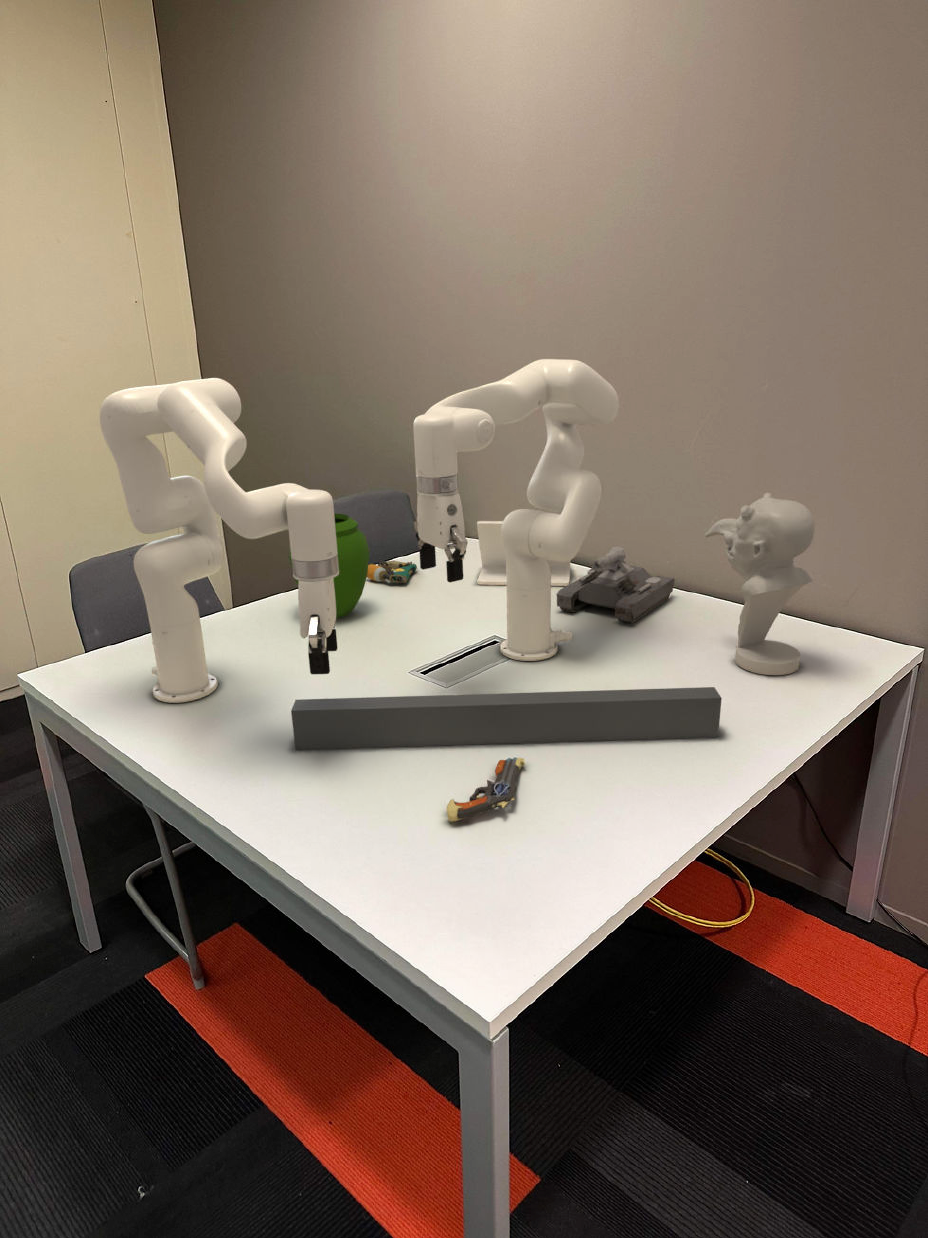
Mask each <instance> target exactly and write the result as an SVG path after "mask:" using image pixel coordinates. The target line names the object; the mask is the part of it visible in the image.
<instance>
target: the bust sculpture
mask: <svg viewBox="0 0 928 1238" xmlns="http://www.w3.org/2000/svg"><path fill="white" fill-rule="evenodd" d="M815 527H816V526H815V520H814V517H813V515H812V513H811V510H809V509H808V508H807V507H806V506H805V505H804V504H802V503H800V502H798V501H796V500H790V499H780V498H774V497H773V494H772V493H770V492H765V493H763V495H762V497H761V498H759V499H757V500H756V501H754V502H752V503H751V504H750V505H743V506H742V507H741V509H740V515H739V517H738V518H737V519H736V518H723V519H719V520H718V521H716V522H715V523H714V524H713V525H712V526H711V528H710V529H709V530H708V531H706V532H705V534H704V536H705V538H711V537H715V536H723V537H724V543H725V544H726V545H727V548H726V549H725V554H726V556H727V560H728V562H729V564H730V565H731V568H732V569H733V571H734V572H736V573H737V574H738V575H739V576H740V577H741V578H742V579H744V581H745V582H744V583H743V585H742V588H741V593H742V597H743V599H744V601H745V602H744V605H743V607H742V609H741V612H740V615H739V623H738V625H737V626H738V627H737V645H736V646H735V654H734V661H735V664H736V665H737V666H738V667H740V668H741V669H744V670H746V671H748V672H750V673H754V674H759V675H766V676H783V675H790V674H792V673H794V672H796V671H798V669H799V668H800V661H801V652H800V651H799V649H797V648H796V647H795V646H792V645H790V644H788V643H784V642H781V641H776V640H769V639H766V637H767V635H768V634H769V631H770V630H771V627H772V626H773V624H774V622H775V620H776V619H777V617H778V616H779V614H780V612H781V611H782V610H783V608H784V607H785V606H786V604H787V603H788V601H790V599H791V597H793V596H794V595H795V594H796V593H797V592H798V591H799V590H801V589H802V588H803V587H805V586H806V585H807V584H809V583H811V582H813V581H814V580H813V579H812V577H811V575H810V574H809V573H808V572H807V571H806V570H805V569H803V568H802V567H799V566H798V567H797V566H795V565H794V563H795V560H794V559H795V558H796V557H799V556H800V555H802V554H803V553H805V552H806V551H807V550H808V549H809V547H810V546H811V544H812V542H813V541H814V537H815V529H816V528H815Z"/></svg>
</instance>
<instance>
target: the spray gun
mask: <svg viewBox="0 0 928 1238" xmlns="http://www.w3.org/2000/svg"><path fill="white" fill-rule="evenodd" d="M417 569H418V566H417V564H416V563H413V561H410V562H409V561H407V562H403V561H398V560H386V561H385V560H382V561H381V560H379V561H378V562H377V564H373V563H370V564H368V573H367V578H366V579H369V580H371V581H375V582H378V583H379V582H381V583H382V582H384V581H389V582H390V583H402V584H405V583H407V582H408V580H409V579H410V577H411V575H412V573H415V572H416V571H417Z"/></svg>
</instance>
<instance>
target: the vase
mask: <svg viewBox="0 0 928 1238" xmlns="http://www.w3.org/2000/svg"><path fill="white" fill-rule="evenodd" d="M334 517H335V529H336V541H337V554H338V565H339V575H338V576H336V577H334V589H335V600H336V619H341V618H345V617H347V616H349V615H350V614H351V613H352V612H353V611H354V610H355V608H356V607H357V605H358V604H359V601H360V599H361V597H362V595H363V592H364V588H365V586H366V581H367V579H368V578H367V573H368V565H369V561H370V560H369V559H370V548H369V545H368V541H367V537H366V535H365V534H364V533H363V532H362V531H361V530H360V529H359V527H358V524H359V523H358V521H356V520H355V519H353V518H352V517H350V516H349V515H347V514H344V513H334ZM288 559H289V564H290V566H291V567H290V568H291V570H292V572H293V568H292V559H291V550H290V549H289V551H288ZM294 581H295V584H296V586H298V583H299V580H296V579H295V578H294Z"/></svg>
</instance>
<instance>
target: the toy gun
mask: <svg viewBox="0 0 928 1238" xmlns="http://www.w3.org/2000/svg"><path fill="white" fill-rule="evenodd" d="M525 765H526V764H525V758H524V757H516V756H515V757H513V758H511V757H507V759H500V760H499V761H498V762H497V765H496V766H495V769H494V773H495V776H496V779H495V780H494V781H492V780H489V779H487V780H486V783H487V786H479V787H476V789H474V792H473V793H472V795H471V796H469V801H466V802H465V801H464V802H458V801H455V799H454V798H452V799H450V800H449V802H448V803H447V806H446V814H447V820H448V821H449V822H457V821H461V820H463V819H468V818H471V817H473V816H477V815H479V814H482V813H487V812H489V811H493V810H494V809H497V808H499V807H501V809H505V808H506V806H507V805H508V804H509V803H510V802H511V801H514V800H515V797H516V793H517V779H518V776H519V773H520V771H521V768H522V767H523V766H525ZM480 794H483V796H480Z"/></svg>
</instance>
